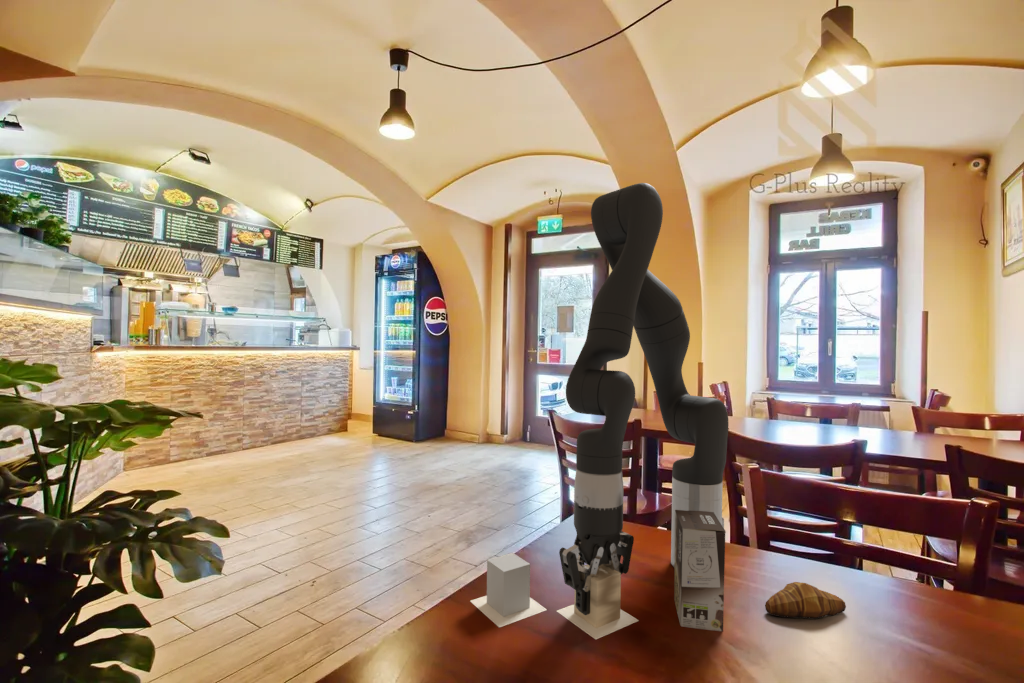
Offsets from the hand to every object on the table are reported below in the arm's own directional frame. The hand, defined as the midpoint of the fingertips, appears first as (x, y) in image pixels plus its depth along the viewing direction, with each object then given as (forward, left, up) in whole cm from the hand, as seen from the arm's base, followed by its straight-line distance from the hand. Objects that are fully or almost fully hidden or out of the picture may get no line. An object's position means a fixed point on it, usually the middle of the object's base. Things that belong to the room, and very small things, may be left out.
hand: (596, 606), depth 79 cm
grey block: (+10, -10, -1) cm, 14 cm away
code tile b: (+10, -10, -3) cm, 14 cm away
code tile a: (0, 0, -3) cm, 3 cm away
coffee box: (-14, +8, -3) cm, 16 cm away
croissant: (-31, +16, -3) cm, 35 cm away
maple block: (0, 0, -1) cm, 1 cm away
